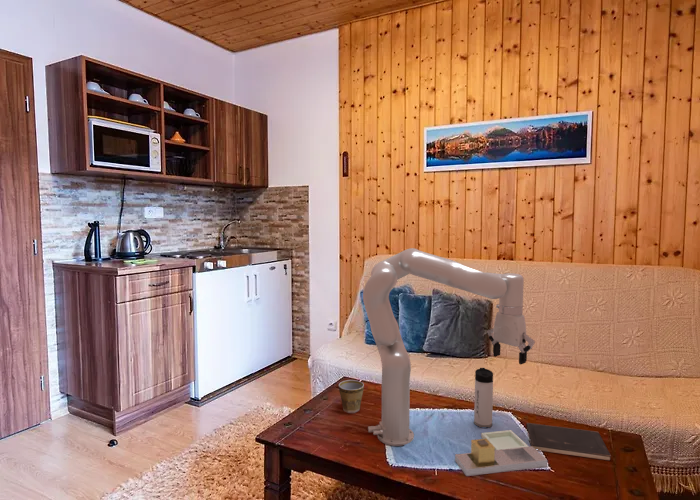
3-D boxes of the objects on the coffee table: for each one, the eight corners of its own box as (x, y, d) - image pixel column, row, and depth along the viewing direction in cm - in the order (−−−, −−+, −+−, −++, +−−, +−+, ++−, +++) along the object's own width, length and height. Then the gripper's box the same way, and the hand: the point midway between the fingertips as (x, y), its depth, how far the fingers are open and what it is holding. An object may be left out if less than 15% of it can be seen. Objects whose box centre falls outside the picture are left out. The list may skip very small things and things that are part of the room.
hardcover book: (610, 463, 133) (611, 456, 133) (531, 451, 140) (531, 444, 140) (597, 437, 149) (597, 430, 148) (526, 427, 155) (526, 421, 155)
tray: (497, 456, 136) (497, 450, 136) (481, 438, 147) (481, 432, 147) (529, 452, 138) (529, 446, 138) (510, 435, 149) (511, 429, 149)
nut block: (478, 471, 128) (478, 447, 127) (470, 461, 133) (471, 438, 132) (494, 469, 129) (494, 445, 128) (486, 460, 133) (486, 437, 133)
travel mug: (489, 419, 160) (490, 367, 159) (493, 428, 154) (495, 374, 152) (472, 419, 161) (473, 367, 159) (475, 427, 154) (477, 373, 153)
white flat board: (466, 477, 126) (466, 469, 125) (455, 462, 133) (455, 454, 133) (547, 468, 130) (547, 460, 130) (531, 453, 138) (531, 446, 138)
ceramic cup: (364, 415, 165) (364, 389, 164) (338, 415, 165) (338, 389, 164) (363, 400, 178) (363, 377, 177) (339, 400, 178) (339, 377, 177)
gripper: (482, 307, 150) (481, 355, 151) (528, 316, 136) (526, 369, 138) (494, 304, 154) (493, 351, 156) (541, 313, 141) (539, 364, 142)
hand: (509, 359), depth 147 cm, fingers open, 9 cm apart
